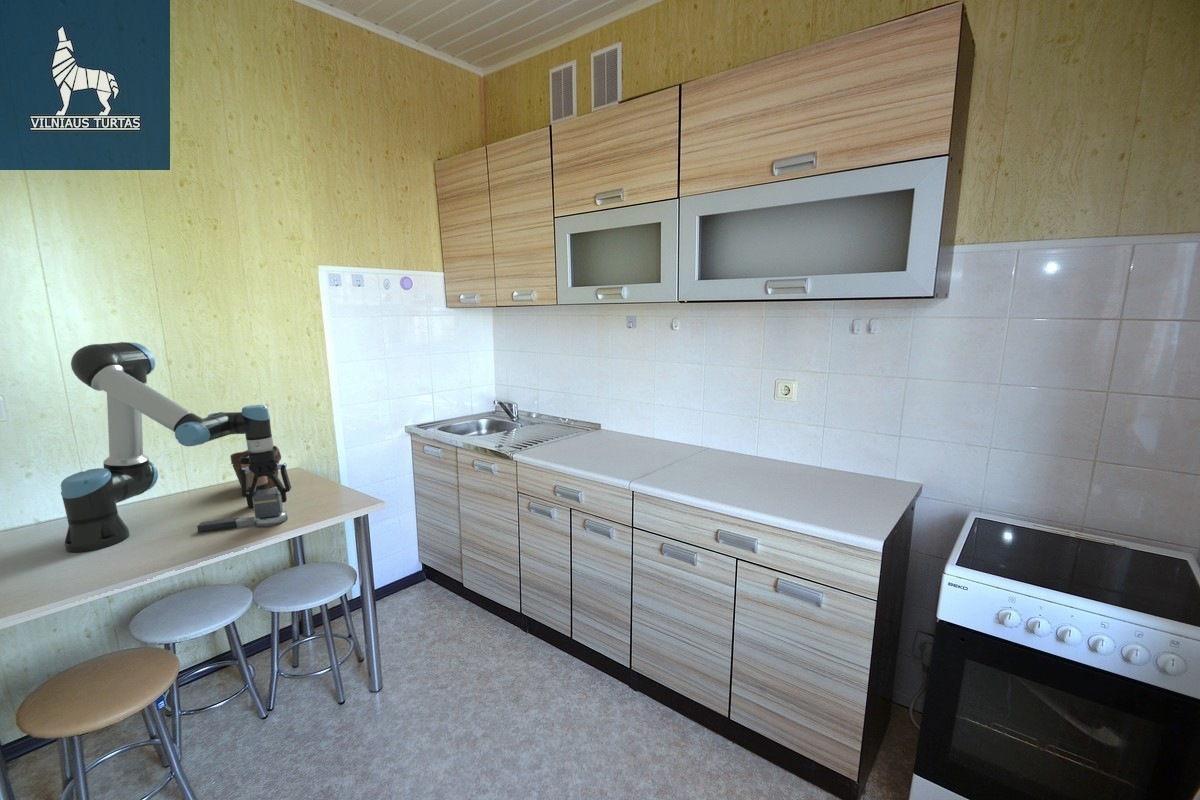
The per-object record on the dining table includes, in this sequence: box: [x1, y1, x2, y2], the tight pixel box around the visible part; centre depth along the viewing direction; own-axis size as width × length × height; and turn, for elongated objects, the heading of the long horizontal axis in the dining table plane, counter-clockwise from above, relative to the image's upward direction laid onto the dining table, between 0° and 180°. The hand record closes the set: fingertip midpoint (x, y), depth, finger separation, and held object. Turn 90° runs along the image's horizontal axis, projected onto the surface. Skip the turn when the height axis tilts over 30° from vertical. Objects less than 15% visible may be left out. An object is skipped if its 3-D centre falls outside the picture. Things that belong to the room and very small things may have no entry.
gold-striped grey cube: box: [253, 487, 281, 518], centre depth 180 cm, size 7×7×8 cm
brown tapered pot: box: [229, 445, 282, 489], centre depth 219 cm, size 18×20×18 cm
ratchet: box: [197, 509, 289, 534], centre depth 178 cm, size 26×10×8 cm, turn 109°
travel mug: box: [240, 454, 268, 510], centre depth 196 cm, size 8×8×20 cm
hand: (270, 512), depth 181 cm, fingers closed on gold-striped grey cube, 7 cm apart
